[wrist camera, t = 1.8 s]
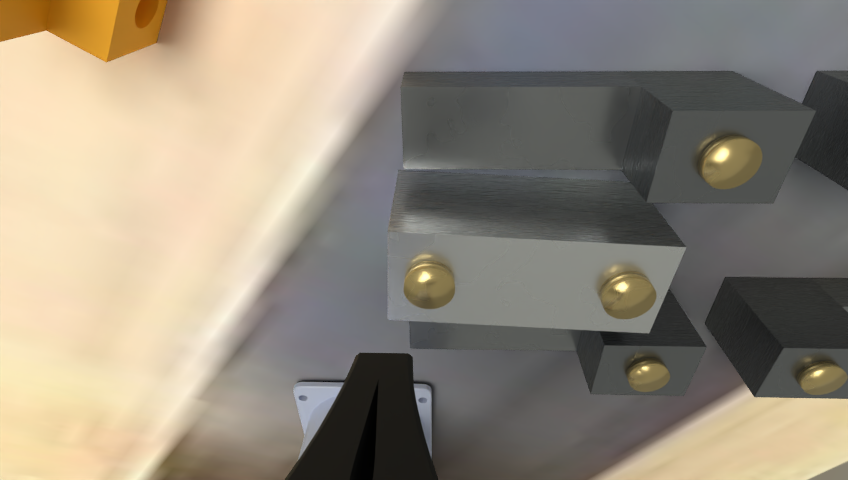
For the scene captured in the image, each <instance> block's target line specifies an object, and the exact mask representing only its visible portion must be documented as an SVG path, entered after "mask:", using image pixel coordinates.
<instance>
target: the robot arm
mask: <svg viewBox="0 0 848 480" xmlns="http://www.w3.org/2000/svg"><path fill="white" fill-rule="evenodd" d="M293 392H294V396H295V400H296V404H297V408H298V412H299V416H300V420H301V424H302V428H303V431H304V435H305V436H304V440H303V444H302V447H301V451H300V455H299V458H298V461H297V463H296V464H295V466H294V467H293V469H292V470H291V472H290V473H289V474H288V476H287V477H286V479H285V480H438V477H437V474H436V471H435V468H434V465H433V462H432V390H431V387H430V386H428V385H426V384H413V357H412V356H411V355H409V354H404V353H359V354H358V355H356V357H355V359H354V362H353V364H352V367H351V369H350V371H349V373H348V375H347V377H346V380H345V382H298V383H296V384H295V386H294V389H293Z"/></svg>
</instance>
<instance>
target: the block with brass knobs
mask: <svg viewBox="0 0 848 480" xmlns="http://www.w3.org/2000/svg"><path fill="white" fill-rule="evenodd" d="M685 250H686V246H685V245H684V243H683V242H682V241H681V240H680V238H679V237H678V236H677V234H676V233H675V232H674V231H673V229H672V228H671V227H670V226H669V224H668V223H667V222H666V220H665V219H664V218H663V217H662V215H661V214H660V213H659V211H658V210H657V209H656V208H655V206H654V205H653V204H652V203H646V202H645V200H644V199H643V198H642V196H641V195H640V194H639V193H638V191H637V190H636V189H635V187H634V186H633V185H632V183H631V182H623V181H604V180H585V179H566V178H547V177H528V176H508V175H489V174H470V173H451V172H432V171H413V170H398V175H397V181H396V187H395V193H394V198H393V204H392V210H391V215H390V221H389V227H388V320H401V321H420V322H439V323H459V324H478V325H497V326H516V327H535V328H554V329H574V330H593V331H612V332H631V333H650V330H651V328H652V326H653V323H654V321H655V319H656V316H657V314H658V312H659V309H660V307H661V305H662V303H663V300H664V298H665V296H666V293H667V291H668V289H669V286H670V284H671V282H672V280H673V277H674V275H675V273H676V270H677V268H678V266H679V263H680V261H681V259H682V257H683V254H684V252H685Z"/></svg>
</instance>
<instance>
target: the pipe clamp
mask: <svg viewBox="0 0 848 480" xmlns="http://www.w3.org/2000/svg"><path fill="white" fill-rule="evenodd" d="M166 4H167V0H0V42H1V41H5V40H9V39H13V38H17V37H21V36H25V35H30V34H34V33H38V32H42V31H46V30H47V31H48V32H50V33H52V34H54V35H56V36H58V37H60V38H62V39H64V40H65V41H67V42H69V43H71V44H73V45H75V46H77V47H79V48H81V49H82V50H84V51H86V52H88V53H90V54H92V55H94V56H96V57H98V58H99V59H101V60H103V61H105V62H108V61H111V60H114V59H116V58H119V57H121V56H124V55H126V54H129V53H132V52H134V51H137V50H139V49H142V48H144V47H147V46H150V45H152V44H155V43H156V42H157V38H158V35H159V31H160V27H161V23H162V19H163V16H164V12H165V8H166Z"/></svg>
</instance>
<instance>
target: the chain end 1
mask: <svg viewBox="0 0 848 480" xmlns="http://www.w3.org/2000/svg"><path fill="white" fill-rule="evenodd" d="M401 111H402V138H403V165H404V169H571V170H622V172H623V173H624V174H625V175H626V177H627V178H628V179H629V181H630V182H631V183H632V185H633V186H634V187H635V189H636V190H637V191H638V193H639V194H640V195H641V196H642V198H643V199H644V200H645V202H646V203H774V201H775V198H776V196H777V194H778V192H779V190H780V188H781V186H782V183H783V181H784V179H785V177H786V175H787V173H788V170H789V168H790V166H791V164H792V162H793V160H794V158H795V155H796V153H797V151H798V149H799V147H800V145H801V142H802V140H803V138H804V136H805V134H806V132H807V130H808V127H809V125H810V123H811V121H812V119H813V117H814V115H815V112H816V110H813V109H811V108H809V107H807V106H805V105H803V104H801V103H799V102H797V101H795V100H792V99H790V98H788V97H786V96H784V95H782V94H780V93H778V92H776V91H773V90H771V89H769V88H767V87H765V86H763V85H761V84H759V83H757V82H754V81H752V80H750V79H748V78H746V77H744V76H742V75H740V74H738V73H735V72H733V71H641V72H404V76H403V80H402V84H401ZM409 326H410V348H416V349H482V350H548V351H577V354H578V357H579V360H580V363H581V366H582V369H583V372H584V375H585V378H586V382H587V385H588V388H589V391H590V394H613V395H669V396H684V394H685V392H686V390H687V388H688V386H689V384H690V382H691V379H692V377H693V375H694V373H695V371H696V369H697V366H698V364H699V362H700V360H701V358H702V356H703V354H704V351H705V349H706V345H705V344H704V342H703V341H702V339H701V337H700V336H699V334H698V333H697V331H696V330H695V328H694V327H693V325H692V323H691V322H690V320H689V319H688V317H687V316H686V314H685V313H684V311H683V309H682V308H681V306H680V305H679V303H678V302H677V300H676V299H675V297H674V295H673V294H672V292H671V291H670V289H668V291H667V293H666V296H665V298H664V300H663V303H662V305H661V307H660V309H659V312H658V314H657V316H656V319H655V321H654V323H653V326H652V328H651V330H650V333H631V332H612V331H593V330H574V329H554V328H535V327H516V326H497V325H478V324H459V323H439V322H420V321H409Z"/></svg>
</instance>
